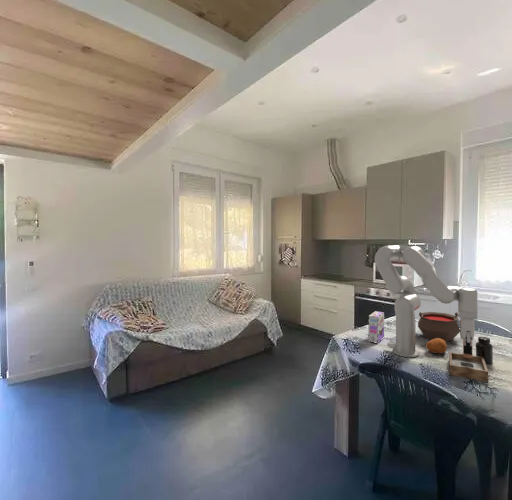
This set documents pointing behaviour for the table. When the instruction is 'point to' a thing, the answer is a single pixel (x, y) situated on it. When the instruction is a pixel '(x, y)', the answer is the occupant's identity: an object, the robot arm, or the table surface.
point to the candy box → (376, 326)
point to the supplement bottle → (484, 349)
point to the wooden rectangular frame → (468, 367)
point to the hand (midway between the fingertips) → (467, 352)
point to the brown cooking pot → (439, 325)
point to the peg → (463, 351)
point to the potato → (436, 345)
